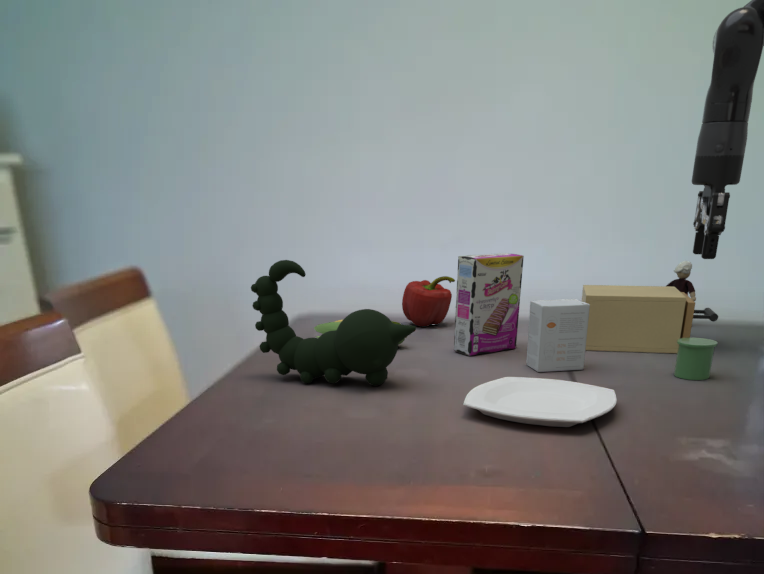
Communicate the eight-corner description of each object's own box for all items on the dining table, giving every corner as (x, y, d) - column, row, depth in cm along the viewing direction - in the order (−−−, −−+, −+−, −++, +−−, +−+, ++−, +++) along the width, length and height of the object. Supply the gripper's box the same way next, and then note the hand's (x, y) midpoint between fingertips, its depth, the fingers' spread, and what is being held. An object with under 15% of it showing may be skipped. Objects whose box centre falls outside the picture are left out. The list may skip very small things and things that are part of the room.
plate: (592, 442, 88) (594, 426, 87) (444, 419, 97) (444, 404, 96) (629, 401, 103) (630, 388, 102) (498, 385, 112) (499, 372, 111)
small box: (570, 362, 125) (576, 298, 121) (584, 370, 120) (591, 303, 116) (524, 364, 124) (529, 299, 119) (537, 372, 119) (542, 305, 114)
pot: (707, 372, 118) (713, 338, 116) (714, 381, 113) (721, 345, 111) (669, 370, 119) (674, 337, 117) (674, 379, 114) (680, 344, 112)
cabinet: (666, 338, 143) (674, 286, 139) (677, 353, 130) (686, 297, 126) (578, 335, 146) (583, 284, 142) (580, 350, 134) (586, 295, 130)
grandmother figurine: (697, 325, 154) (707, 261, 149) (689, 327, 152) (699, 262, 146) (661, 320, 159) (670, 258, 154) (653, 323, 157) (662, 260, 151)
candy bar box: (470, 357, 129) (474, 258, 122) (452, 352, 133) (455, 255, 126) (518, 349, 135) (525, 254, 128) (500, 344, 139) (505, 251, 132)
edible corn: (399, 351, 134) (399, 326, 132) (307, 341, 143) (306, 317, 141) (412, 346, 138) (412, 321, 136) (322, 336, 147) (321, 313, 145)
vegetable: (456, 321, 160) (458, 273, 156) (449, 330, 151) (451, 279, 147) (407, 319, 163) (407, 272, 159) (397, 328, 154) (397, 278, 149)
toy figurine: (256, 394, 115) (411, 392, 106) (235, 265, 107) (400, 253, 99) (283, 379, 123) (428, 376, 114) (265, 259, 115) (419, 247, 107)
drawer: (703, 335, 140) (710, 292, 137) (716, 349, 129) (724, 303, 126) (593, 331, 144) (597, 290, 141) (596, 345, 133) (601, 300, 130)
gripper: (754, 152, 116) (735, 261, 123) (734, 154, 129) (718, 252, 135) (703, 152, 117) (687, 260, 124) (688, 154, 130) (674, 252, 137)
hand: (703, 256), depth 130 cm, fingers open, 8 cm apart
